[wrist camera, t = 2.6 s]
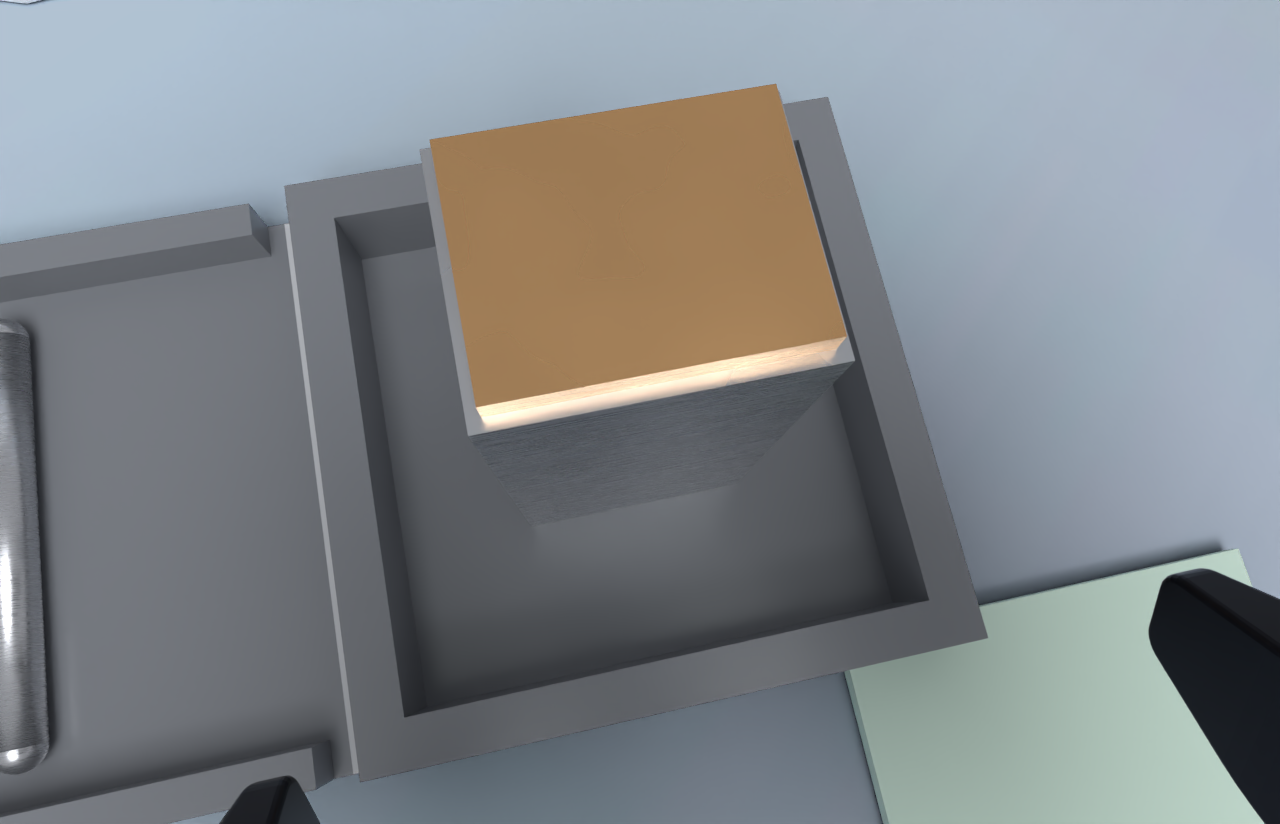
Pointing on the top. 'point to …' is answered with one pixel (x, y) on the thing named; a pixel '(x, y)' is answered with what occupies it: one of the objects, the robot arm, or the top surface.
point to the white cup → (21, 1)
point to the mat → (1047, 717)
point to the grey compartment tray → (410, 516)
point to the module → (633, 297)
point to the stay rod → (20, 566)
